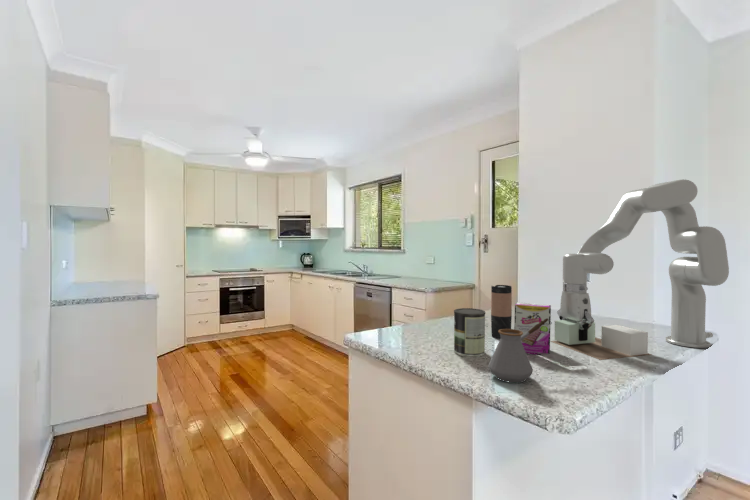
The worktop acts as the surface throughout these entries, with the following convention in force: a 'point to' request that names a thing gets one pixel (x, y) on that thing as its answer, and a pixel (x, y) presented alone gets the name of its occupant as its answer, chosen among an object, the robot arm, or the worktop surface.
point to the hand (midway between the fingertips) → (574, 337)
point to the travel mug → (500, 309)
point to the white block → (624, 340)
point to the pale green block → (572, 332)
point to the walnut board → (596, 350)
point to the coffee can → (469, 332)
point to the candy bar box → (527, 319)
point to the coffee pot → (512, 355)
